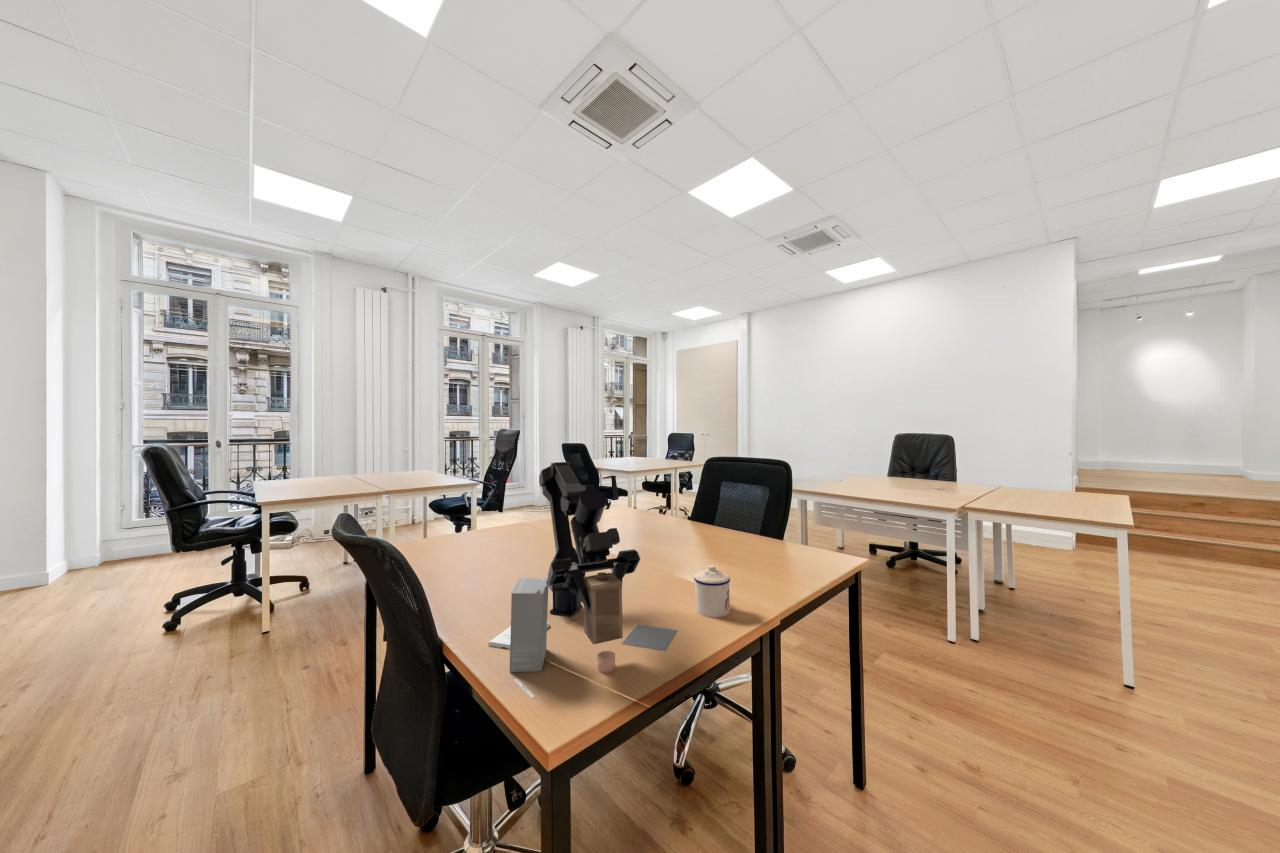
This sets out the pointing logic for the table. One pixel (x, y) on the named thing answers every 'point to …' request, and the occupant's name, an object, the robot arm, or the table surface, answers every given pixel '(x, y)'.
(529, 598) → the skincare box
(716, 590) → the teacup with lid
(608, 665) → the pink small cylinder
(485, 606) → the table surface
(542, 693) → the table surface
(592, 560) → the robot arm
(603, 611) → the brown box
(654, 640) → the rubber coaster
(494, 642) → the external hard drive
